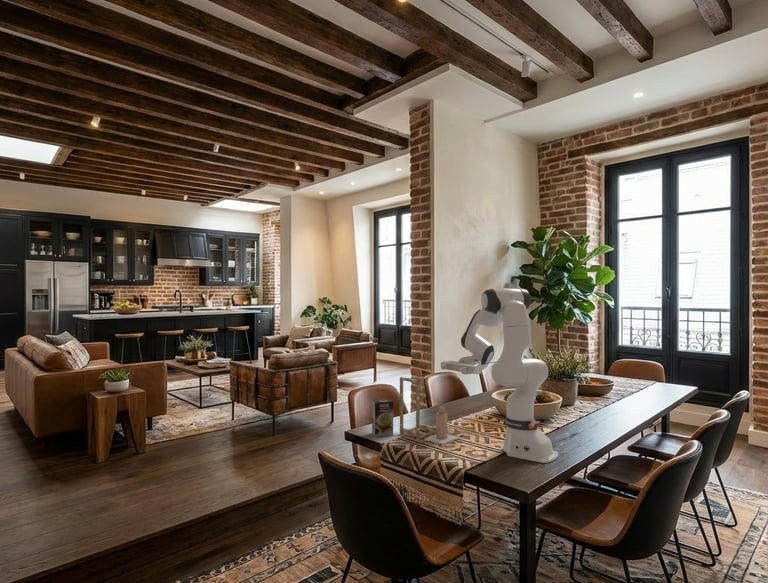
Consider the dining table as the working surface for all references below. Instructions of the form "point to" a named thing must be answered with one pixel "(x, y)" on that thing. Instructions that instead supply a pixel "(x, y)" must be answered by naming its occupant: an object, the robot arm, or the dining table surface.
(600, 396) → the dining table surface
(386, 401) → the coffee box
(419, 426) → the rack
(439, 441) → the coaster
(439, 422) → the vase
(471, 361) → the robot arm
